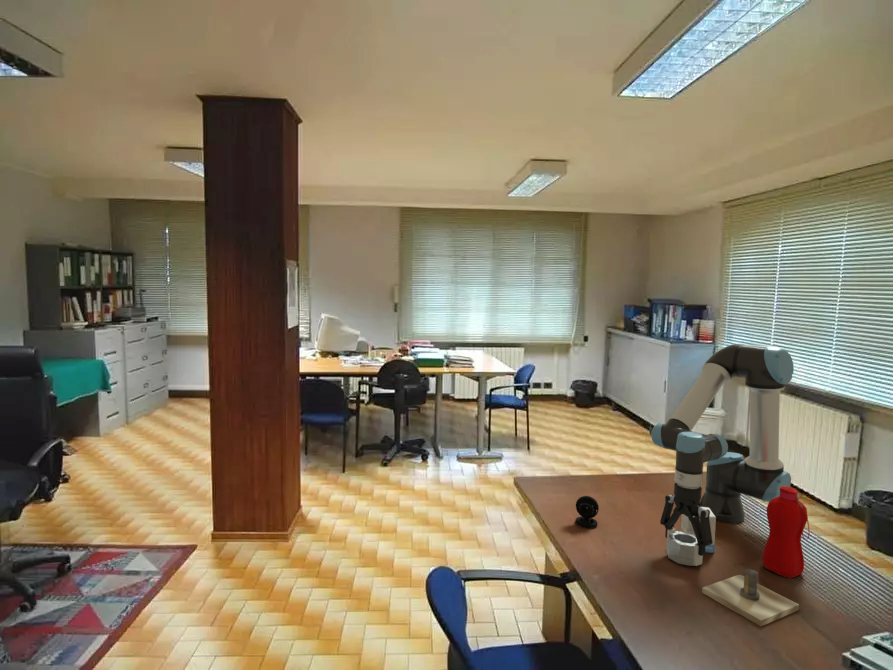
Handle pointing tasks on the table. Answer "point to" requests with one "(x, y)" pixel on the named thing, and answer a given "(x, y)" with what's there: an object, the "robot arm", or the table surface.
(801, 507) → the water bottle
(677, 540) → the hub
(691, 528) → the ink box
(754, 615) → the shaft block
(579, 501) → the webcam
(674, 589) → the table surface
